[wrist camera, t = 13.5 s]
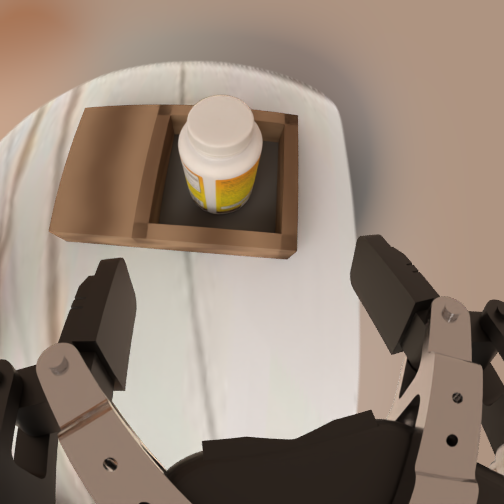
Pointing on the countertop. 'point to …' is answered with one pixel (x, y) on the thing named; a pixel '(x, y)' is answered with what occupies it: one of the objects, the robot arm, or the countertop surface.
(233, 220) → the cup caddy
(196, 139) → the supplement bottle
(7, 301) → the countertop surface
